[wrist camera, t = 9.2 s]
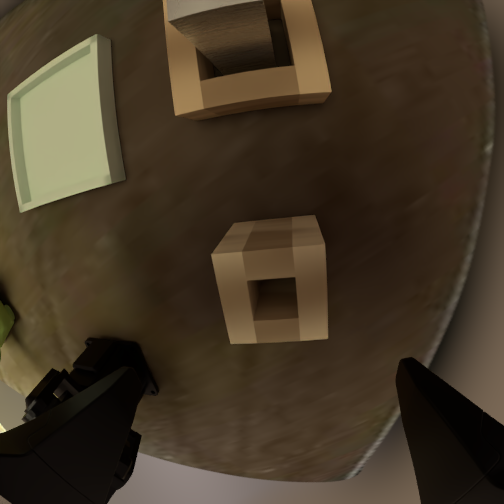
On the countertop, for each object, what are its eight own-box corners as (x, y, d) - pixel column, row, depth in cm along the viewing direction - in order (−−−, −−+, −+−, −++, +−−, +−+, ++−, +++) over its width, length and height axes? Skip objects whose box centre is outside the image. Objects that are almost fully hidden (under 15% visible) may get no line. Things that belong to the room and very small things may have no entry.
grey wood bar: (277, 71, 14) (262, 0, 6) (227, 78, 15) (167, 21, 6) (269, 29, 13) (249, -57, 5) (221, 37, 14) (164, -36, 5)
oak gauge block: (323, 103, 15) (331, 91, 11) (197, 121, 16) (175, 115, 13) (301, -1, 12) (302, -29, 9) (183, 19, 13) (162, -2, 10)
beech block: (319, 288, 19) (328, 338, 14) (245, 294, 20) (230, 343, 14) (314, 214, 17) (325, 244, 12) (234, 223, 18) (211, 254, 13)
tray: (126, 179, 18) (111, 183, 16) (34, 207, 20) (20, 212, 18) (110, 39, 14) (96, 33, 12) (21, 95, 16) (7, 94, 14)
